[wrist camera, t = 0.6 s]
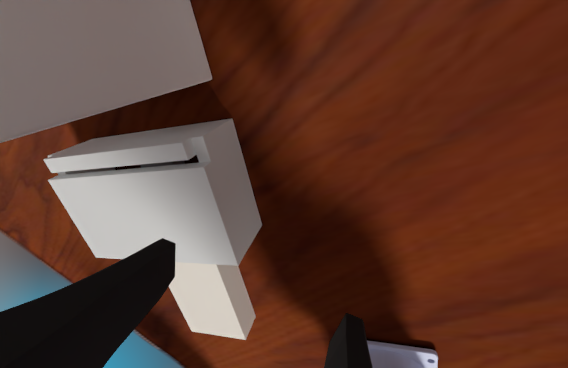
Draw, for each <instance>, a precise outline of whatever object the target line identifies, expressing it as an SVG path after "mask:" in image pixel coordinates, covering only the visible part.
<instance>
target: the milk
mask: <svg viewBox="0 0 568 368" xmlns="http://www.w3.org/2000/svg"><path fill="white" fill-rule="evenodd" d="M210 80H212V75H211V71H210V68H209V64H208V61H207V57H206V54H205V51H204V47H203V44H202V40H201V37H200V33H199V30H198V26H197V23H196V19H195V16H194V13H193V9H192V6H191V2H190V0H0V143H2V142H5V141H8V140H12V139H15V138H18V137H22V136H25V135H29V134H32V133H35V132H39V131H42V130H45V129H49V128H52V127H55V126H59V125H62V124H66V123H69V122H72V121H76V120H79V119H82V118H86V117H89V116H92V115H96V114H99V113H103V112H106V111H109V110H113V109H116V108H119V107H123V106H126V105H129V104H133V103H136V102H140V101H143V100H146V99H150V98H153V97H156V96H160V95H163V94H166V93H170V92H173V91H177V90H180V89H183V88H187V87H190V86H193V85H197V84H200V83H204V82H207V81H210Z"/></svg>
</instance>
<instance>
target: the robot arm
mask: <svg viewBox="0 0 568 368" xmlns="http://www.w3.org/2000/svg"><path fill="white" fill-rule="evenodd" d="M175 250H176V243H173V242H171V241H168V240H166V239H164V238H162V239H160V240H158V241H156V242H154V243H152V244H150V245H148V246H147V247H145V248H143V249H141V250H139V251H137V252H136V253H134V254H132V255H130V256H128V257H126V258H124V259H122V260H121V261H119V262H117V263H115V264H113V265H111V266H109V267H107V268H105V269H103V270H101V271H99V272H97V273H95V274H93V275H91V276H88V277H86V278H84V279H82V280H80V281H78V282H76V283H73V284H71V285H69V286H67V287H64V288H62V289H60V290H58V291H55V292H53V293H50V294H48V295H45V296H43V297H40V298H38V299H35V300H32V301H30V302H27V303H24V304H21V305H19V306H16V307H13V308H10V309H8V310H5V311H2V312H0V368H103V367H104V365H105V364H106V363H107V361H108V360H109V358H110V357H111V356H112V355H113V353H114V352H115V351H116V350H117V348H118V347H119V346H120V345H121V344H122V343H123V342H124V340H125V339H126V338H127V337H128V336H129V335H130V333H131V332H132V331H133V330H134V329H135V328H136V326H137V325H138V324H139V323H140V322H141V321H142V319H143V318H144V317H145V316H146V315H147V314H148V312H149V311H150V310H151V309H152V308H153V306H154V305H155V304H156V303H157V302H158V301H159V299H160V298H161V297H162V295H163V294H164V292H165V291H166V289H167V288H168V286H169V285H170V283H171V282H172V280H173V279H174V277H175ZM437 367H438V355H437V352H436V351H434V350H432V349H426V348H419V347H411V346H404V345H397V344H389V343H382V342H375V341H368V340H367V338H366V333H365V327H364V322H363V320H362V319H360V318H358V317H355V316H353V315H351V314H348V313H346V314H345V316H344V317H343V319H342V321H341V323H340V325H339V326H338V328H337V330H336V332H335V333H334V335H333V337H332V339H331V341H330V343H329V347H328V352H327V356H326V361H325V366H324V368H437Z"/></svg>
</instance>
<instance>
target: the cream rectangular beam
mask: <svg viewBox="0 0 568 368" xmlns="http://www.w3.org/2000/svg"><path fill="white" fill-rule="evenodd" d="M169 288H170V290H171V292H172V294H173V296H174V297H175V299H176V301H177V303H178V305H179V307H180V309H181V311H182V313H183V315H184V317H185V319H186V321H187V323H188V325H189V327H190V329H191V331H193V332H199V333H206V334H212V335H218V336H225V337H231V338H237V339H243V340H246V338H247V336H248V333H249V331H250V329H251V326H252V324H253V322H254V319H255V317H256V316H255V313H254V310H253V307H252V304H251V302H250V299H249V296H248V293H247V290H246V287H245V284H244V282H243V279H242V276H241V273H240V270H239V267H238V266H234V265H217V264H199V263H182V262H175V277H174V279H173V280H172V282H171V283H170V285H169Z"/></svg>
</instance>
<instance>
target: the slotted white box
mask: <svg viewBox="0 0 568 368" xmlns="http://www.w3.org/2000/svg"><path fill="white" fill-rule="evenodd" d="M195 155H197V157H198V160H199V163H189V164H185V162H184V160H189V159H191V158H192V157H194V156H195ZM43 160H44V161H45V163H46V165H47V166H48V168H49V170H50V171H51V173H58V176H56V177H54V178H51V179H49V180H48V181H49V183H50V184H51V186H52V187H53V189H54V191H55V192H56V194H57V196H58V197H59V199H60V200H61V202H62V204H63V205H64V207H65V208H66V210H67V212H68V213H69V215H70V217H71V218H72V220H73V221H74V223H75V225H76V226H77V228H78V229H79V231H80V233H81V234H82V236H83V238H84V239H85V241H86V242H87V244H88V246H89V247H90V249H91V250H92V252H93V254H94V255H95V257H96V258H113V259H124V258H126V257H128V256H130V255H132V254H134V253H136V252H137V251H139V250H141V249H143V248H145V247H147V246H148V245H150V244H152V243H154V242H156V241H158V240H160V239H162V238H164V239H166V240H168V241H171V242H173V243H176V250H175V262H182V263H199V264H217V265H234V266H238V265H239V264H240V262H241V260H242V258H243V257H244V255H245V253H246V252H247V250H248V248H249V247H250V245H251V243H252V242H253V240H254V238H255V237H256V235H257V233H258V231H259V230H260V228H261V226H262V222H261V219H260V215H259V212H258V208H257V205H256V201H255V197H254V194H253V190H252V187H251V183H250V180H249V176H248V172H247V169H246V165H245V162H244V158H243V154H242V151H241V147H240V144H239V140H238V137H237V133H236V129H235V126H234V122H233V119H232V118H231V119H224V120H218V121H211V122H204V123H197V124H190V125H184V126H177V127H170V128H163V129H156V130H150V131H143V132H136V133H129V134H122V135H115V136H109V137H102V138H95V139H91V140H88V141H86V142H83V143H80V144H78V145H75V146H72V147H70V148H67V149H65V150H62V151H59V152H57V153H54V154H51V155H49V156H48V158H46V159H43ZM131 165H140V166H141V168H133V169H122V170H115V168H114V167H120V166H131Z"/></svg>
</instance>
